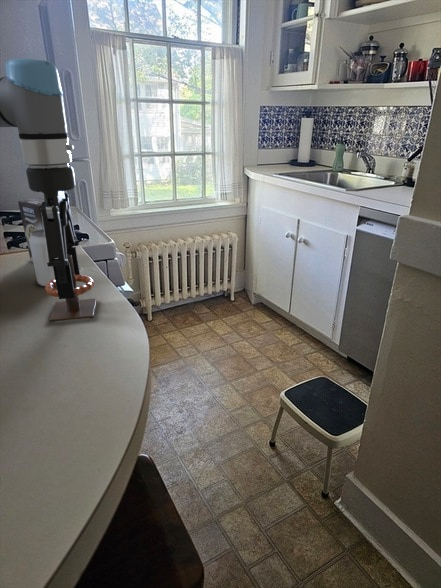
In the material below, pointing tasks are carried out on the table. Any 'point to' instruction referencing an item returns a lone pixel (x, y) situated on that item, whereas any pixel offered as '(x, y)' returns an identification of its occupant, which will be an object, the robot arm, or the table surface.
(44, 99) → the robot arm
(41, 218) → the coffee box
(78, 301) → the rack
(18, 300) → the table surface
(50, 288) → the ring
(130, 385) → the table surface
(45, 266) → the can
